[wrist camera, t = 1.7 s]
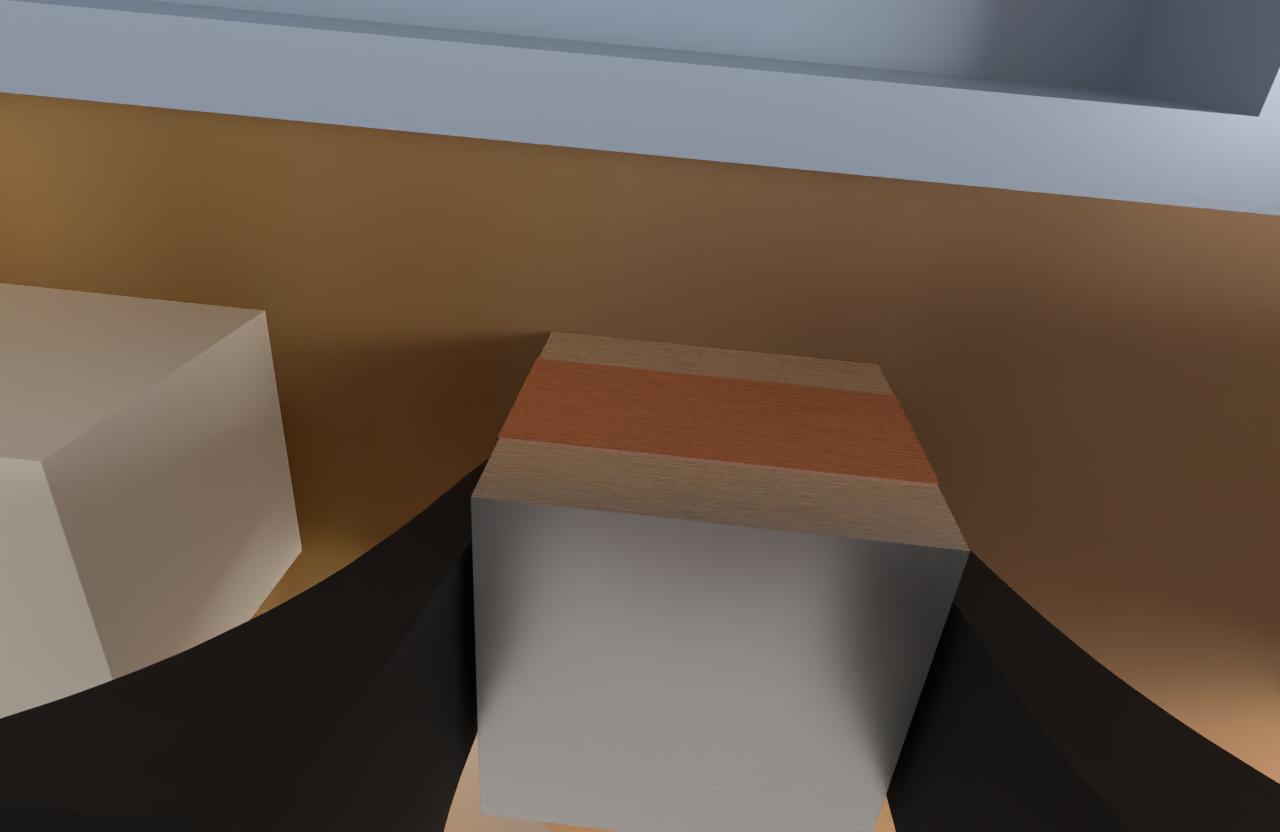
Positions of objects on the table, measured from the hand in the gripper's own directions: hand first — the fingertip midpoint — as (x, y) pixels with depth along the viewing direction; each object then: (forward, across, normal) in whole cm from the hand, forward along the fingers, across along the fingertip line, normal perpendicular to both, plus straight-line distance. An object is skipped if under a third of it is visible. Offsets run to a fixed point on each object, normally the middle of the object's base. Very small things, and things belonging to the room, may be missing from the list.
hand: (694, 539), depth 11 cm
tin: (+2, 0, 0) cm, 2 cm away
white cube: (+2, +9, 0) cm, 9 cm away
